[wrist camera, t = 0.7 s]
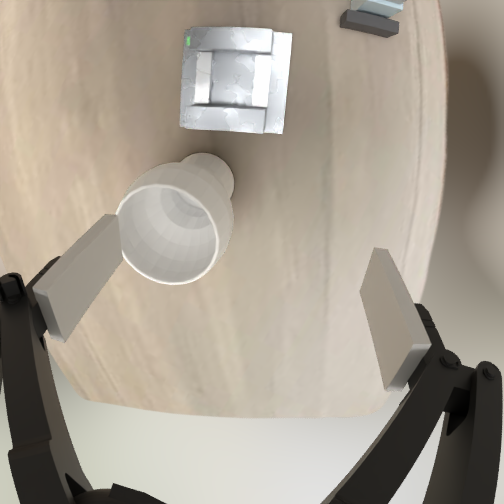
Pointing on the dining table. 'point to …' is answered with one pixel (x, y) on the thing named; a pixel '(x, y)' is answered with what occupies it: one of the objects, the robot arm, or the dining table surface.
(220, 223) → the cup
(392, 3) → the plug
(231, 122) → the port
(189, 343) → the dining table surface
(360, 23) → the pair of dark bars
